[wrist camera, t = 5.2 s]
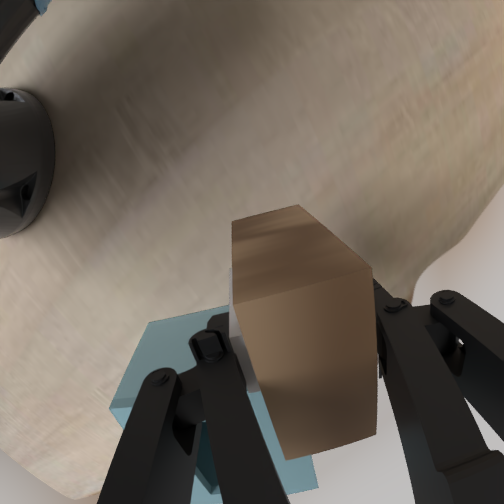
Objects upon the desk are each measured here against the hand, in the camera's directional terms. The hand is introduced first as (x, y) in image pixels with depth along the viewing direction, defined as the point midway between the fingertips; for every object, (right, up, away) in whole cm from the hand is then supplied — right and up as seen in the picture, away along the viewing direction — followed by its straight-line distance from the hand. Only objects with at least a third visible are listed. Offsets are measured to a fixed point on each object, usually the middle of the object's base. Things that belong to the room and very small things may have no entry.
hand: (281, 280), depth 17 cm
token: (0, 0, 0) cm, 0 cm away
